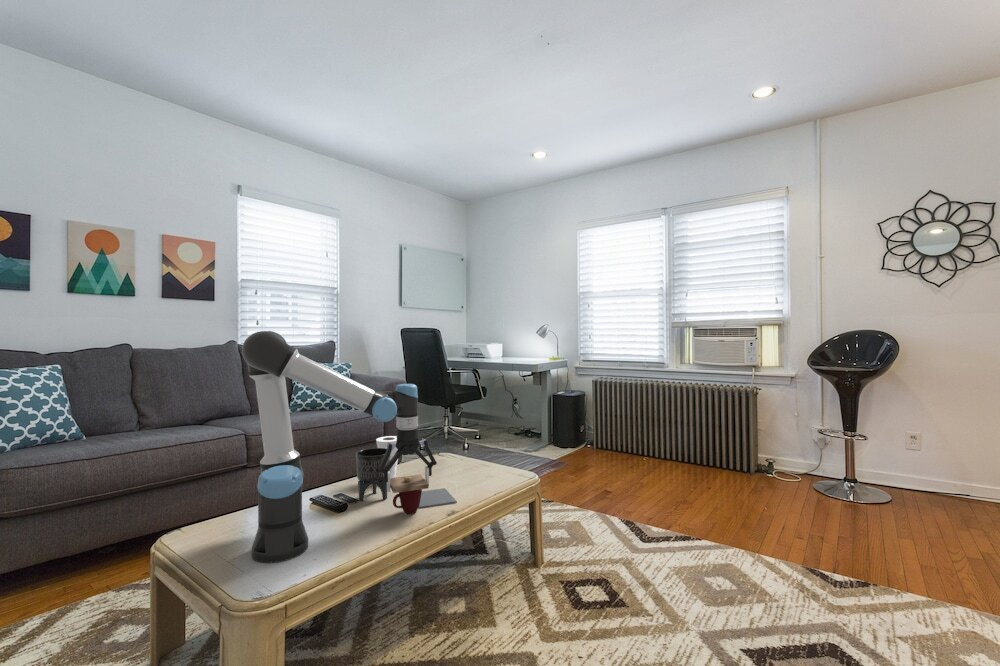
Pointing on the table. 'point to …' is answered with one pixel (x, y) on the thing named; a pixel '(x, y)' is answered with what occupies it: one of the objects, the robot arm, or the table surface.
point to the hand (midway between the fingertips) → (408, 488)
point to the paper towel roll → (383, 443)
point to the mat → (436, 498)
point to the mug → (408, 501)
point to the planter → (370, 471)
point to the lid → (408, 483)
